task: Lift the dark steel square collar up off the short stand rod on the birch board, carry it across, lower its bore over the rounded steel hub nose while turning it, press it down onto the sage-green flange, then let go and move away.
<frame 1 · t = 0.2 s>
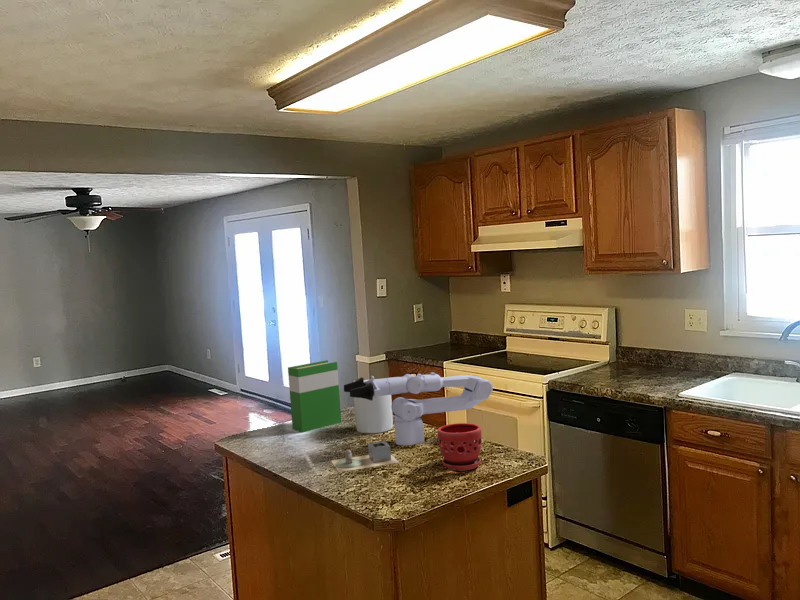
hand: (346, 390, 217), 21 cm above the table, fingers open, 7 cm apart
hardback book: (317, 426, 258), on the table
utensil holder: (374, 429, 249), on the table
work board: (364, 464, 208), on the table
plant pot: (461, 466, 201), on the table
steel collar: (380, 459, 209), point 1 cm above the table, touching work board
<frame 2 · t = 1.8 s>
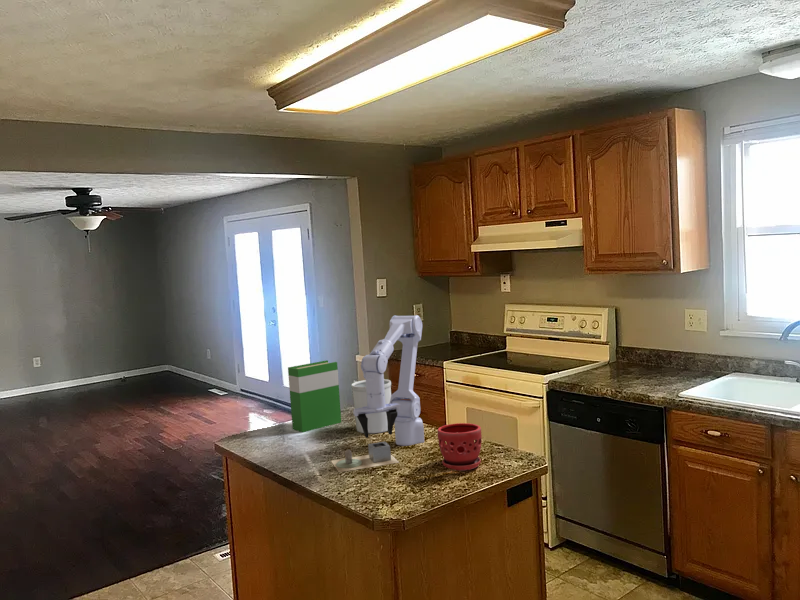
hand: (378, 435, 208), 9 cm above the table, fingers open, 7 cm apart
nothing on the table moved.
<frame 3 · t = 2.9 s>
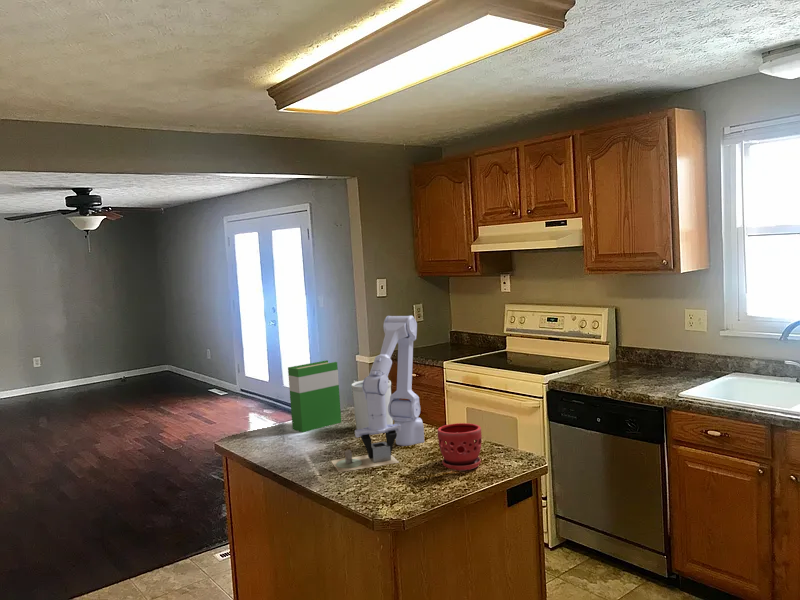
hand: (379, 456, 209), 2 cm above the table, fingers closed on steel collar, 6 cm apart
steel collar: (380, 459, 209), point 1 cm above the table, touching gripper, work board
everything else where it was.
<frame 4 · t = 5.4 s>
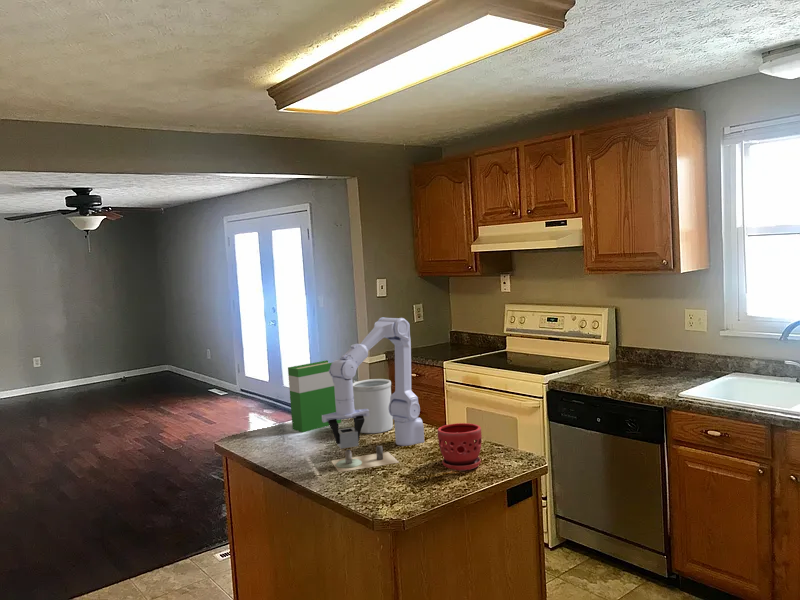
hand: (347, 441, 205), 8 cm above the table, fingers closed on steel collar, 6 cm apart
steel collar: (347, 444, 205), point 7 cm above the table, touching gripper
everything else where it was.
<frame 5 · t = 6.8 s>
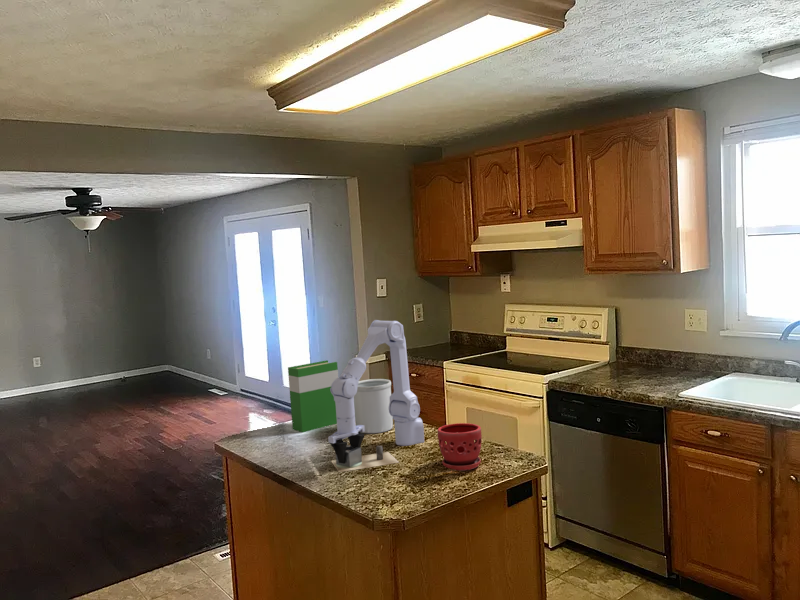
hand: (348, 459, 206), 2 cm above the table, fingers closed on steel collar, 6 cm apart
steel collar: (349, 462, 206), point 1 cm above the table, touching gripper
everything else where it was.
when the fingers open (2 cm above the table, at t = 8.0 s): steel collar stays where it is, resting on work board.
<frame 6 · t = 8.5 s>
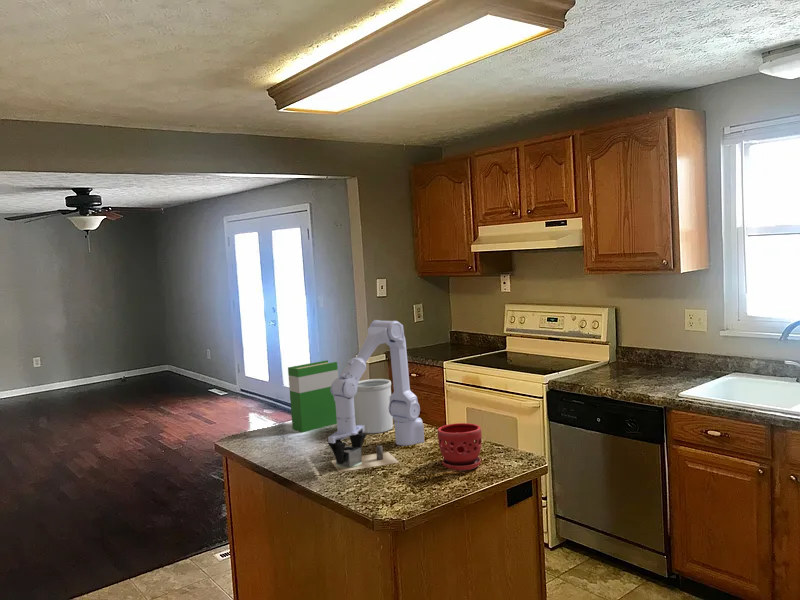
hand: (348, 459, 206), 2 cm above the table, fingers open, 7 cm apart
steel collar: (349, 463, 206), point 1 cm above the table, touching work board
everything else where it was.
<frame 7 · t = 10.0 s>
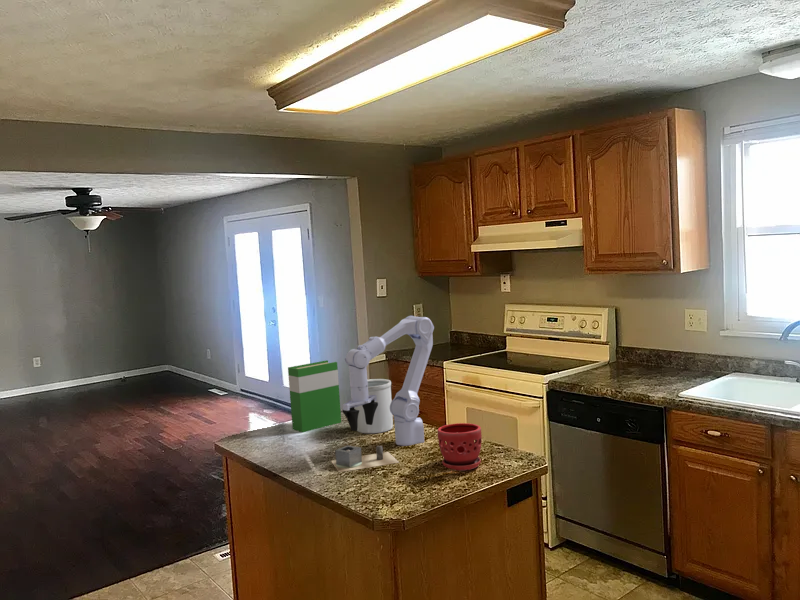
hand: (361, 427, 216), 9 cm above the table, fingers open, 7 cm apart
nothing on the table moved.
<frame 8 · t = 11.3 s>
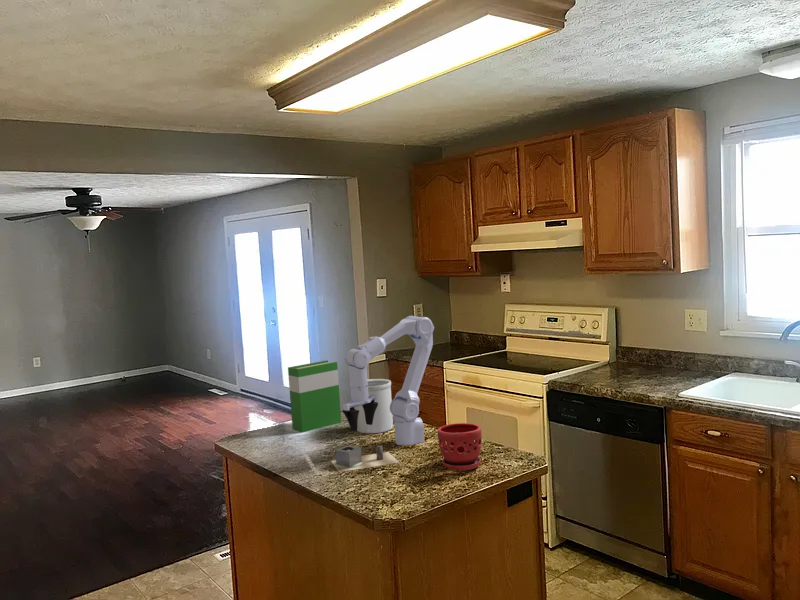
hand: (361, 427, 216), 9 cm above the table, fingers open, 7 cm apart
nothing on the table moved.
at the end: steel collar 0.1 cm from the target spot on the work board, point 1.3 cm above the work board's base; steel collar tilted 0°; the gripper is holding nothing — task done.
